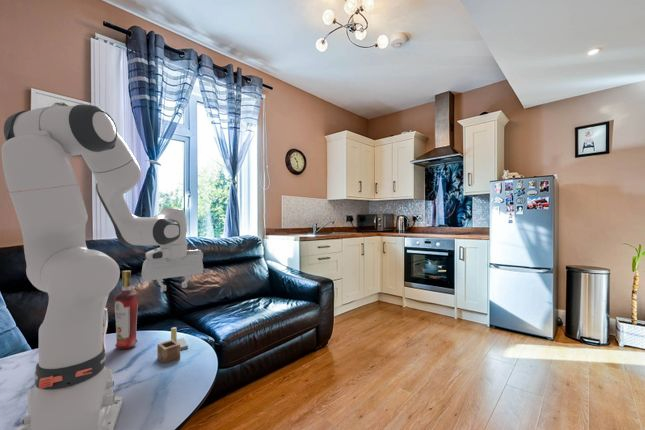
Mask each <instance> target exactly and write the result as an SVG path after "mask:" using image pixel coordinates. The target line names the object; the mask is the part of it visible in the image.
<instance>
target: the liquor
mask: <svg viewBox="0 0 645 430" xmlns="http://www.w3.org/2000/svg"><path fill="white" fill-rule="evenodd" d="M121 276H122V284H121V292H120V293H118V294H116V295H115V296H114V300H113V301H114V315H115V317H114V318H115V332H116V333H115V334H116V343H115V346H114V347H115V348H117V349H119V350H129V349H132V348H133V347H134V346H135V345H136V344H137V343H138V339H137V324H138V322H137V321H138V311H139V310H138V309H139V308H138V307H139V294H138V293H137V292H136V291H132V286H131V276H132V270H122V271H121Z"/></svg>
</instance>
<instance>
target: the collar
mask: <svg viewBox="0 0 645 430" xmlns="http://www.w3.org/2000/svg"><path fill="white" fill-rule="evenodd" d="M156 345H157V347H156V348H157V351H156V352H157V359H158V360H159V361H160V360H161V361H162V362H161V361H160V362H161V363H162V364H164V365H166V364H169V363H172V362H176V361H178V360H180V359H181V350H180V344H179V343H177V342H176V341H175V340H173V339H172V340H171V339H170V340H169V339H168V340H167V341H164V342H160V343H157V344H156ZM165 363H166V364H165Z"/></svg>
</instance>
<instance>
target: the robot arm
mask: <svg viewBox="0 0 645 430" xmlns="http://www.w3.org/2000/svg"><path fill="white" fill-rule="evenodd" d="M3 135H4V138H5V142H3V144H2V147H1V161H2V163H1V164H2V170H3V175H4V176H3V177H4V179H5V185H6V187H7V190H8V192H9V193H8V194H9V196H10V199H11V202H12V205H13V208H14V210H15V215H16V216H17V220H18V223H19V226H20V229H21V234H22V235H21V236H22V241H23V251H24V258H25V263H26V268H25V272H26V273H25V274H26V277H27V279H28V280H29V282H30V283H31V284H32V286H33V287H35V289H37V290H39V291H42V292H44V293H47V295H48V304H47V308H46V313H45V315H44V320H43V322H42V323H41V324H40V326H39V328H38V362H37V364H36V366H35V371H34V379H35V380H34V381H35V382H34V386H33V387H32V388H31V389H30V390H28V391H27V416H26V417H24V418H23V419H22V425H21V426H19V427H17V428H16V429H15V430H115V427H116V424H117V421H118V418H119V415H120V412H121V408H122V405H123V401H124V400H123V397H122V396H117V395H116V396H115V393H114V385H115V381H114V380H113V369H111V368H109V367H107V366H106V350H105V349H104V348H103V317H104V311H105V307H107V302H108V299H109V296H110V293H111V292H112V291H113V290H114V289H115V287H116V286H117V285H118V283H119V280H120V275H121V270H120V266H119V264H118V263H117V262H116V260H115V259H114V258H112V257H111V256H109V255H108V254H106V253H104V252H102V251H99V250H96V249H90V248H88V247H87V242H86V225H87V222H88V221H89V215H88V211H87V208H86V204H85V201H84V198H83V194H82V191H81V188H80V185H79V181H78V178H77V175H76V172H75V170H74V168H73V165H72V163H71V159H72V157H73V156H80V155H81V156H82V158H83V159H84V160H83V161H84V163H86V165H87V167H88V168H89V170H90V171H91V173H92V174H93V176H94V178H95V180H96V182H95V183H96V184H95V190H96V193H97V196H98V198H99V200H100V202H101V204H102V206H103V207H104V208H103V209H105V212H106V214H107V215H108V217H109V219H110V221H111V223H112V225H113V228H114V229H113V230H114V233H115V236H116V238H117V240H118V242H119V243H120V244H122V245H123V246H125V247H136V246H137V247H138V246H159V247H157V248H154V249H152V250H149V251H146V252H145V260H144V261H143V263H142V267H141V268H142V269H141V279H142V280H143V281H144V282H149V281H155V280H156V282H157V283H158V284H159V286H160V291H161V292H165V291H167V285H166V284H163V283H162V282H164V280H163V279H169V278H170V279H171V278H178V277H184V278H185V279H184V281H183V282H181V288H184V289H186V288H188V282H189V281H190V279H191V276H193V275H198V274H199V275H200V274H203V272H204V264H203V259H204V252H203V251H202V250H200V249H194V250H193V249H192V250H191V249H188V241H187V237H186V236H187V232H188V228H187V226H188V225H187V224H188V222H187V217H186V212H185V211H184V209H182V208H179V207H172V206H169V207H168V206H167V207H163V208H162V209H161V211H160V212H159V213H158V214H156V215H154V216H151V217H150V216H149V217H146V216H142V217H140V216H137V215H135V214H133V213H132V212H131V210H130V208H129V205H128V203H127V201H126V198H125V196H124V195H125V194H126V193H128V192H129V191H132V189H134V188H135V187H136V186H137V185H138V183H139V182H140V180H141V177H142V171H141V168H140V165H139V162H138V161H137V159H136V157H135V156H134V154H133V152H132V151H131V149H130V148H129V145H128V144H127V143H126V142H125V140H124V139H123V138H122V136H121V135H120V134H119V133H118V128H117V125H116V123H115V121H114V119H113V118H112V116H111V115H110V114H109V113H108V112H106V111H105V110H104V109H103V108H101V107H99V106H96V105H93V104H76V105H60V106H59V105H58V106H56V105H55V106H54V105H52V106H45V107H40V108H35V109H32V110H31V109H30V110H21V111H18V112H15V113H13V114H11V115H10V116H8V117H7V118H6V119H5V121H4V124H3Z"/></svg>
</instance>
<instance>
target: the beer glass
mask: <svg viewBox="0 0 645 430" xmlns="http://www.w3.org/2000/svg"><path fill="white" fill-rule="evenodd" d="M108 323H109V314H108V307H107V306H106V307H105V311H104V317H103V348H104V349H105V351H106V350H107V344H106V334H107V330H108Z"/></svg>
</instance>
